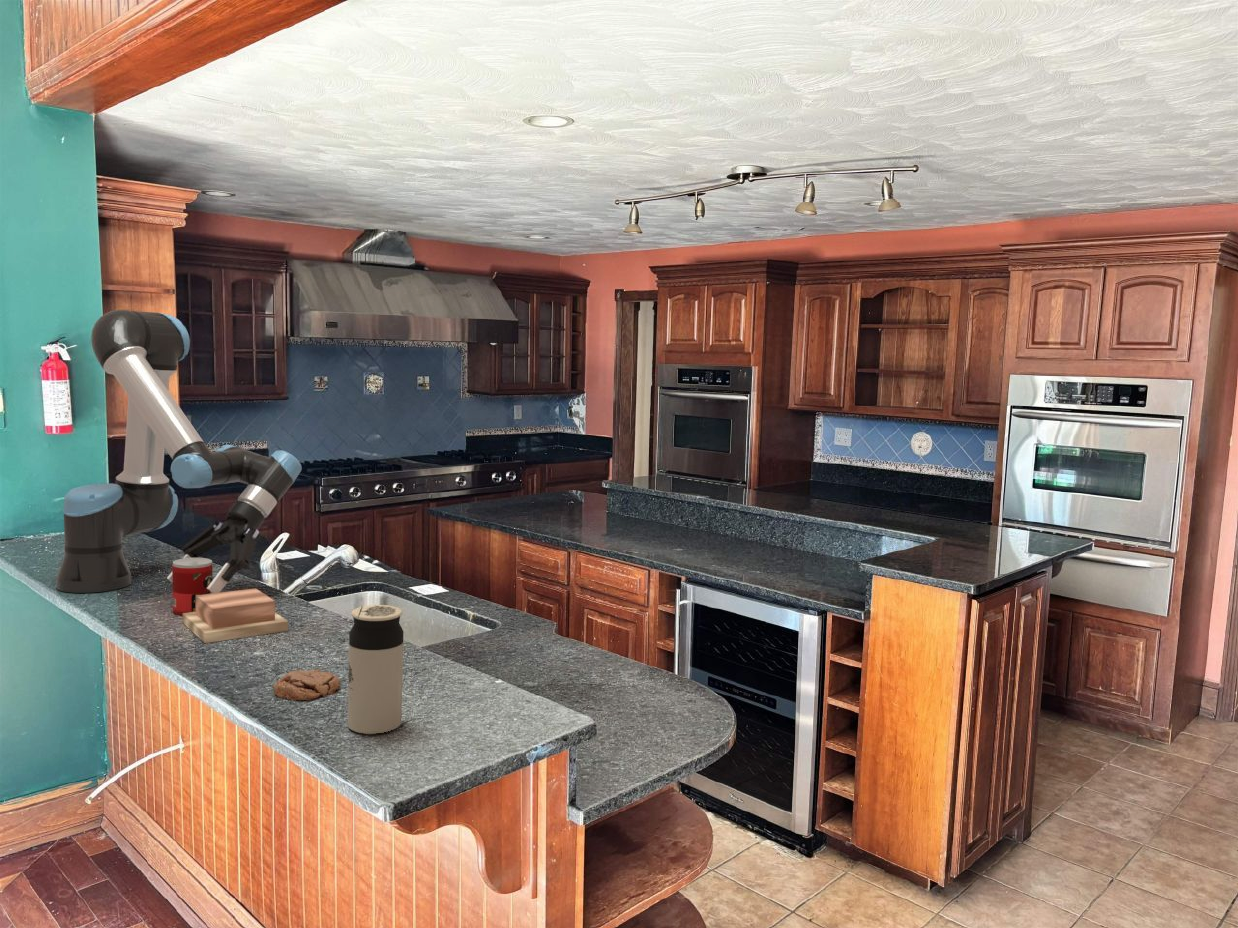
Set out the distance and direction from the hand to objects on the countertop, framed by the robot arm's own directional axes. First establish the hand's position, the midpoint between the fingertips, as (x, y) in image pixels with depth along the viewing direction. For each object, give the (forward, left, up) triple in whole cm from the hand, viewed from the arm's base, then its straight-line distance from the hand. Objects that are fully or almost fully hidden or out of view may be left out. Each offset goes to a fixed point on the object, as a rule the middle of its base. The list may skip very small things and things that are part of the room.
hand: (191, 586), depth 191 cm
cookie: (+57, +3, -6) cm, 58 cm away
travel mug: (+77, +6, -6) cm, 78 cm away
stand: (+15, +4, -6) cm, 17 cm away
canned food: (-1, 0, -6) cm, 6 cm away
